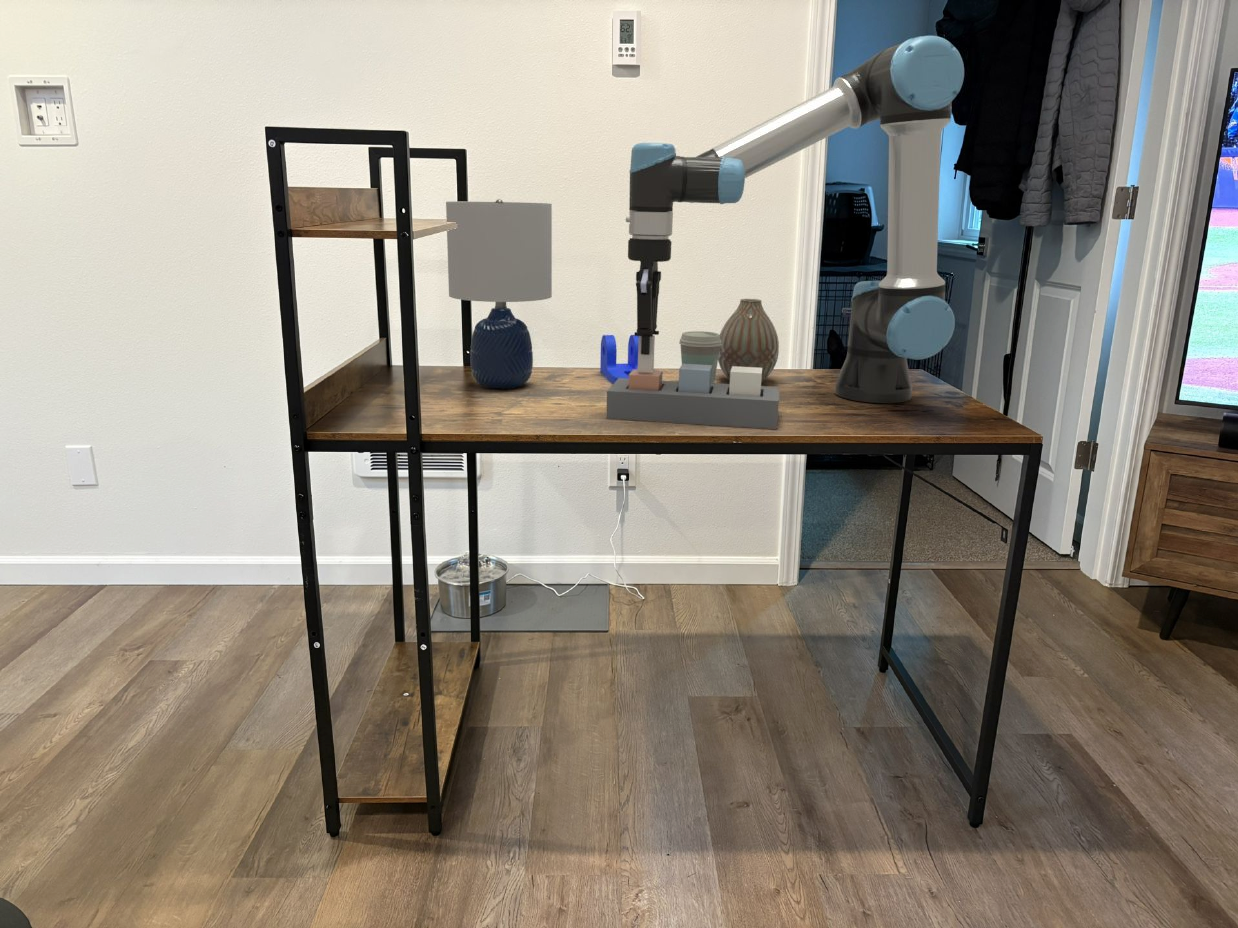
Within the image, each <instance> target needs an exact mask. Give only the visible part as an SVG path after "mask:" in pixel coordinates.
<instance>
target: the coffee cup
mask: <svg viewBox="0 0 1238 928" xmlns="http://www.w3.org/2000/svg"><path fill="white" fill-rule="evenodd" d="M721 342H722V341H721V339H720V333H717V332H713V331H700V330H698V331H697V330H695V331H694V330H693V331H683V332H682V334H681V336H680V338H679V341H678V344H679V345H680V357H681V358H680V359H681V365H682V364H699V365H712V378H711V383H715V380H716V373H717V369H718V364H719V362H718V357H719V351H720V346H721V345H722V344H721Z"/></svg>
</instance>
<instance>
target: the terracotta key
mask: <svg viewBox="0 0 1238 928" xmlns="http://www.w3.org/2000/svg"><path fill="white" fill-rule="evenodd" d="M662 381H663V370H654V371H653V373H648V372H638V370H635V369H633V371H632V372H631V373H630V374H629V385H628V389H638V390H656V391H661V389H662Z"/></svg>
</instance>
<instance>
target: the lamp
mask: <svg viewBox="0 0 1238 928" xmlns="http://www.w3.org/2000/svg"><path fill="white" fill-rule="evenodd" d="M445 208H446V209H445V211H446V223H447V222H456V224H458V225H457V227H458V228H456V229H452V230H449V231H447V230H446V243H447V246H446V247H447V274H448V275H447V276H448V297H450V298H452V299H456V300H462V301H472V302H487V303H489V302H490V303H495V304H494V305H495V306H494V307H492V308H491V309H490V312H489V314H488V316H487V317H485V318H483V319H481V320H479V321H478V322H477V323H476V324H475V326H474V330H473V332H472V335H471V342H470V352H469V353H470V354H469V355H470V356H469V357H470V359H469V360H470V368H471V373H472V377H473V378H474V379H475V381H476V382H477V383H478V384H479V385H481V386H483V387H485V388H488V389H494V390H495V389H496V390H502V389H503V390H505V389H506V390H508V389H511V390H512V389H517V388H520V387H522V386H524V384H525V383H527V382H528V380H529V379H530V378H531V376H532V373H533V368H534V365H533V364H534V363H533V362H534V358H533V355H534V354H533V353H534V351H533V345H532V338H531V337H532V336H531V333H530V331H529V329H528V326H527V325H526V323H525V322H524V321H522V320H521V319H519V318H516V317H515V315H514V313H512V309H511V308H509V307H507V303H517V302H519V303H520V302H522V303H523V302H535V301H543V300H549V299H551V298H552V294H553V293H552V292H553V291H552V287H553V286H552V284H553V283H552V280H553V277H552V276H553V275H552V274H553V273H552V272H553V271H552V270H553V269H552V266H553V263H552V262H553V261H552V260H553V259H552V258H553V257H552V253H553V250H552V249H553V248H552V244H553V238H552V233H553V232H552V231H553V229H552V227H553V225H552V222H553V221H552V219H553V217H552V216H553V214H552V213H553V210H552V209H553V207H552V203H547V202H546V203H545V202H544V203H543V202H518V201H517V202H515V201H512V202H511V201H510V202H509V201H503V200H502V199H500V198H499V199H496V200H495V201H469V200H468V201H465V200H464V201H460V200H459V201H458V200H457V201H454V200H453V201H452V200H451V201H445Z"/></svg>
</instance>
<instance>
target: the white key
mask: <svg viewBox="0 0 1238 928" xmlns="http://www.w3.org/2000/svg"><path fill="white" fill-rule="evenodd" d="M761 379H762V368H756V367H737V366H732V368H731V371H730V379H729V384H730V387H729V395H742V396H759V397H760V393H761V386H762V382H761Z"/></svg>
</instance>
